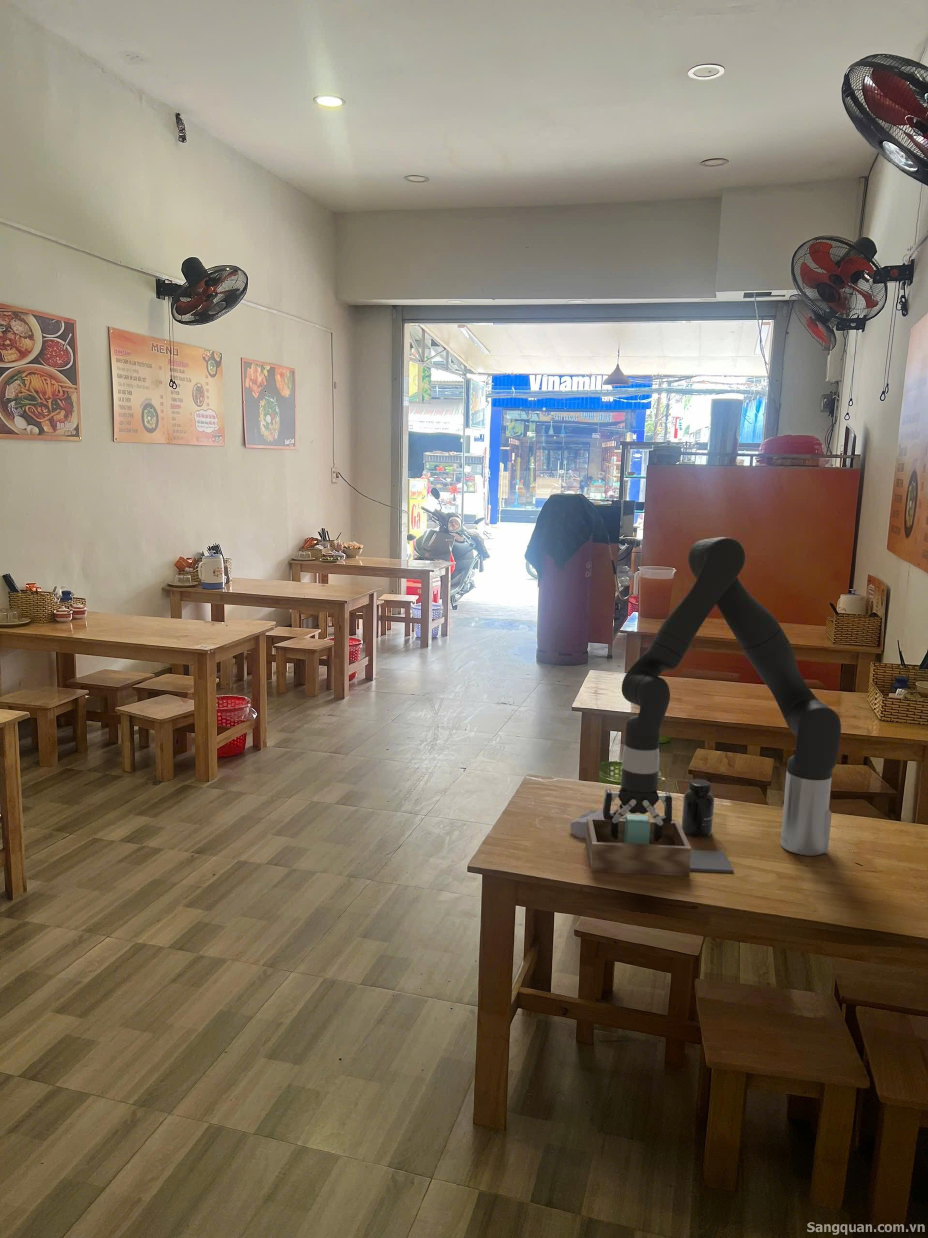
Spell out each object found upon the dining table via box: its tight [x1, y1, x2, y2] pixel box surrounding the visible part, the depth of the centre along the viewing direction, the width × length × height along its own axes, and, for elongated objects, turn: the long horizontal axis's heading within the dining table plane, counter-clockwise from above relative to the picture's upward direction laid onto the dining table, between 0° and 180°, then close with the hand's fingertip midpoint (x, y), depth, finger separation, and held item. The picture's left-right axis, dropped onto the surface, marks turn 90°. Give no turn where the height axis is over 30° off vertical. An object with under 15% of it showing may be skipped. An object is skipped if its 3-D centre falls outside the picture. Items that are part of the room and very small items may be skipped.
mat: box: [690, 849, 735, 874], centre depth 186 cm, size 9×9×1 cm
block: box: [624, 813, 650, 845], centre depth 186 cm, size 4×4×7 cm
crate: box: [585, 817, 692, 877], centre depth 186 cm, size 20×14×6 cm
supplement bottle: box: [681, 778, 715, 838], centre depth 200 cm, size 7×7×12 cm
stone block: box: [569, 809, 626, 840], centre depth 201 cm, size 12×5×10 cm
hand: (635, 839), depth 186 cm, fingers open, 8 cm apart
